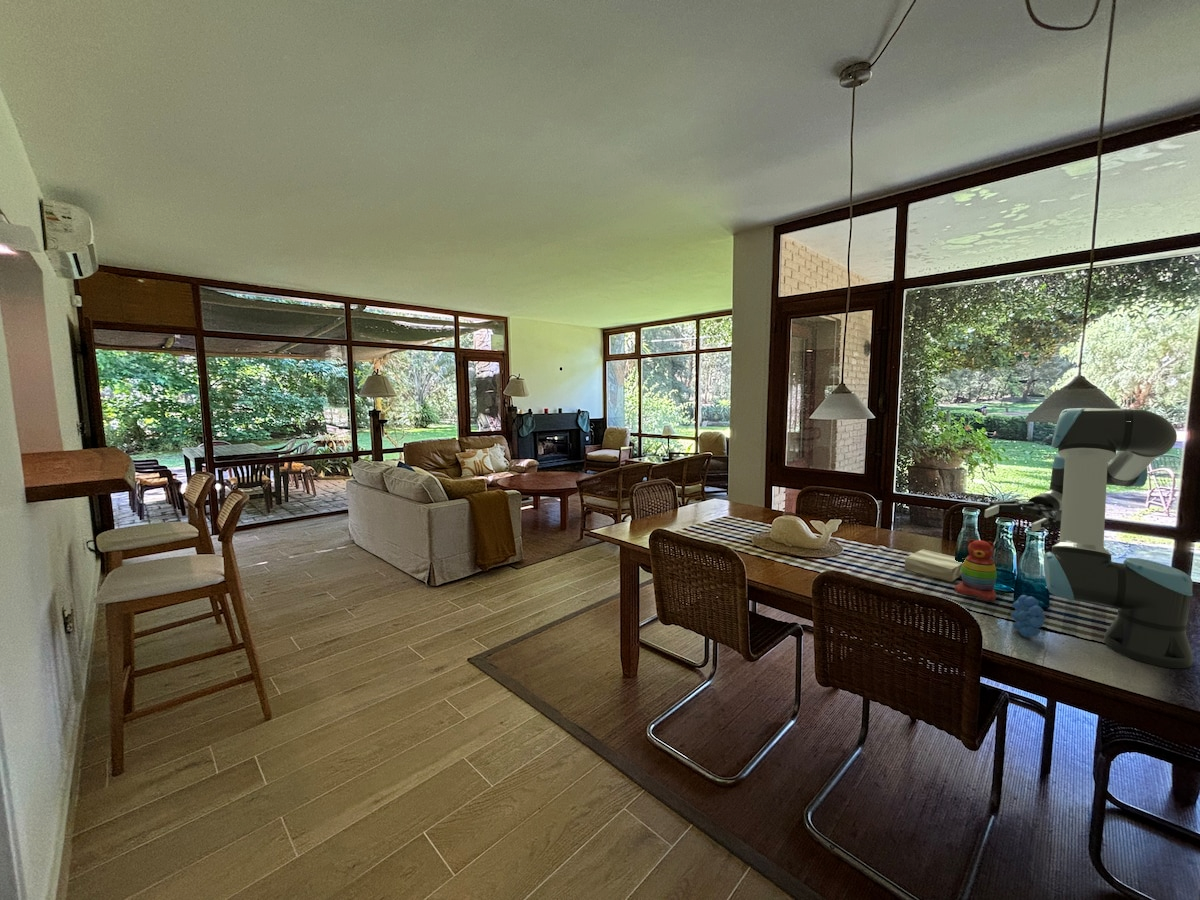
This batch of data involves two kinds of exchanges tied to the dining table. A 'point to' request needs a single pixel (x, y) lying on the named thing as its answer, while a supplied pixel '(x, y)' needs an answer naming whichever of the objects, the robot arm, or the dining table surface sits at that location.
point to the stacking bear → (978, 571)
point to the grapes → (1028, 616)
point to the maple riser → (934, 565)
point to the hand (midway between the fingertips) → (1008, 520)
